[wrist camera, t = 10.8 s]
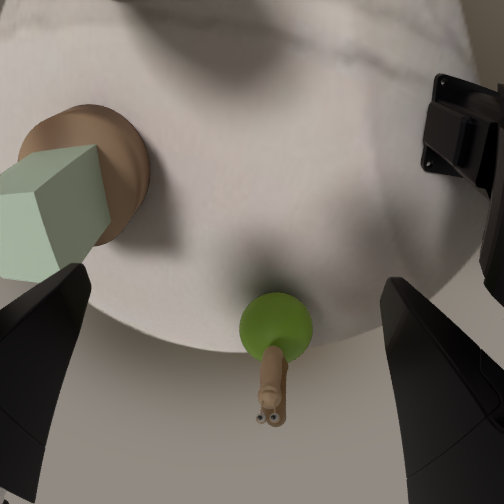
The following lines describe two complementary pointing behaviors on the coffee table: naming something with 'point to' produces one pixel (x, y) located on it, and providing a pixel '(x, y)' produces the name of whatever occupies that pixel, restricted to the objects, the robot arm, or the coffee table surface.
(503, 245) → the robot arm
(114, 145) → the walnut base
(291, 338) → the snail figurine
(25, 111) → the coffee table surface
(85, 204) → the sage block
